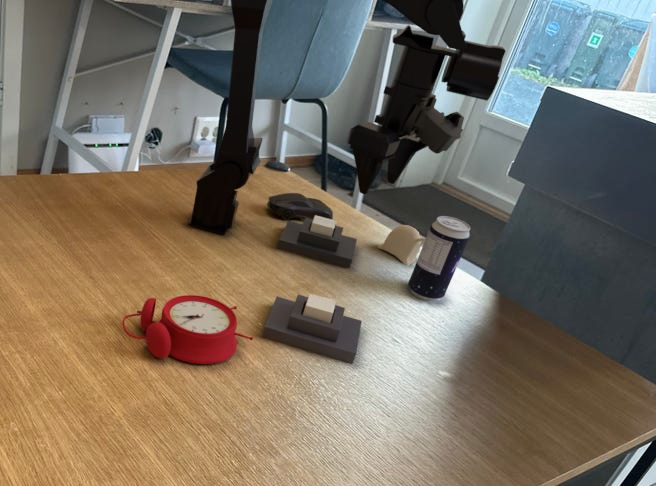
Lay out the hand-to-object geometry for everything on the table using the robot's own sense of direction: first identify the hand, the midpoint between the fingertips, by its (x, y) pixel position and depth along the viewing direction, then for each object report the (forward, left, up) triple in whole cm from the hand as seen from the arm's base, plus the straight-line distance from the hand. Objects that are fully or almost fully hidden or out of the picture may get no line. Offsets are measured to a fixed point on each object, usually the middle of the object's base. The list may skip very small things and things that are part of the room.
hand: (377, 188), depth 108 cm
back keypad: (-6, +1, -13) cm, 14 cm away
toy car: (-11, +13, -13) cm, 22 cm away
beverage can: (+12, -5, -13) cm, 18 cm away
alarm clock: (-18, -38, -13) cm, 44 cm away
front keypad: (-3, -27, -13) cm, 30 cm away
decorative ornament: (+8, +7, -13) cm, 17 cm away
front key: (-3, -27, -10) cm, 29 cm away
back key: (-6, +1, -10) cm, 11 cm away
